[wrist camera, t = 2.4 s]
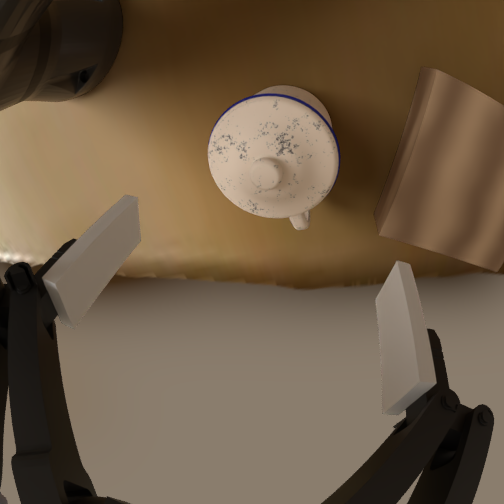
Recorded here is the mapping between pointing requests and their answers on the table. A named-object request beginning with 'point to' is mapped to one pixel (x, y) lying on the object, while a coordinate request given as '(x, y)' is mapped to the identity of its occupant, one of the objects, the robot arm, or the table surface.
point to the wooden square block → (448, 174)
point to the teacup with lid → (275, 154)
